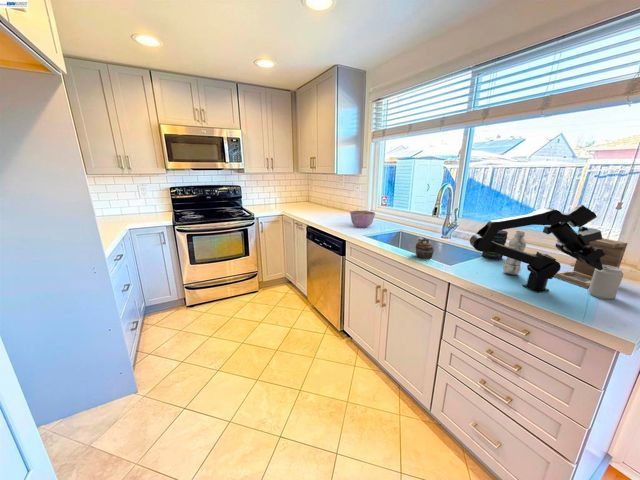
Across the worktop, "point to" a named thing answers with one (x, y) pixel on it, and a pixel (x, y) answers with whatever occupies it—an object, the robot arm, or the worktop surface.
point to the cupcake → (424, 249)
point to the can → (606, 282)
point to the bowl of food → (362, 218)
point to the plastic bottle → (518, 244)
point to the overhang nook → (585, 272)
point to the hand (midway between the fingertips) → (592, 265)
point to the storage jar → (499, 239)
